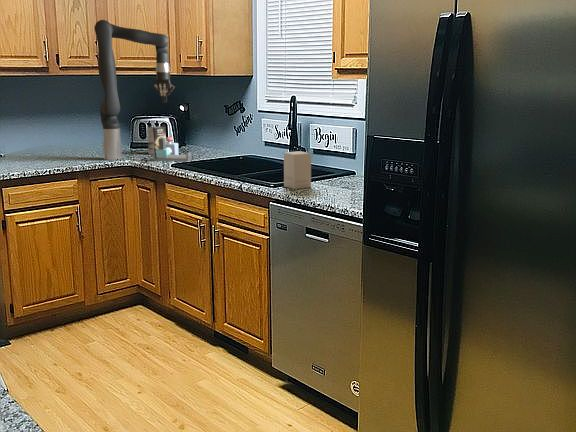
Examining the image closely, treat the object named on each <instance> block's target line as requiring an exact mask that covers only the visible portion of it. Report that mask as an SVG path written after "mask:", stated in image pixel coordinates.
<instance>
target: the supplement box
mask: <svg viewBox="0 0 576 432" xmlns="http://www.w3.org/2000/svg"><path fill="white" fill-rule="evenodd" d="M283 186H284V187H286V188H290V189H293V190H299V189H306V188H307V189H308V188H312V153H311V152H307V151H302V150H298V151H287V152H283Z"/></svg>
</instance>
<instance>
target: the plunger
mask: <svg viewBox="0 0 576 432" xmlns="http://www.w3.org/2000/svg"><path fill="white" fill-rule="evenodd" d="M172 141H173V137H166V142H167V143H168V144H171V143H172Z"/></svg>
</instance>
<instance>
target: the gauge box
mask: <svg viewBox="0 0 576 432" xmlns="http://www.w3.org/2000/svg"><path fill="white" fill-rule="evenodd" d="M166 149H169V155H180V153H179V143H178V142H171V144H168V142H166Z"/></svg>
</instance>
